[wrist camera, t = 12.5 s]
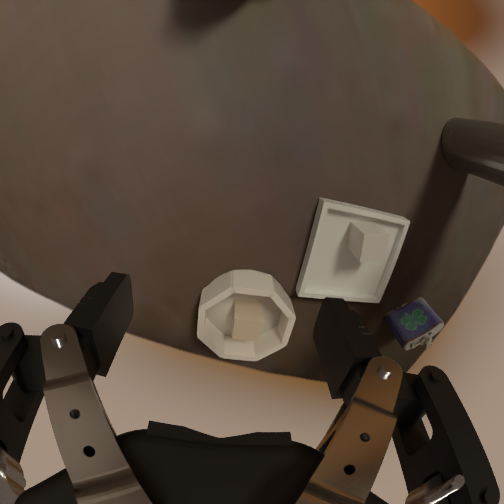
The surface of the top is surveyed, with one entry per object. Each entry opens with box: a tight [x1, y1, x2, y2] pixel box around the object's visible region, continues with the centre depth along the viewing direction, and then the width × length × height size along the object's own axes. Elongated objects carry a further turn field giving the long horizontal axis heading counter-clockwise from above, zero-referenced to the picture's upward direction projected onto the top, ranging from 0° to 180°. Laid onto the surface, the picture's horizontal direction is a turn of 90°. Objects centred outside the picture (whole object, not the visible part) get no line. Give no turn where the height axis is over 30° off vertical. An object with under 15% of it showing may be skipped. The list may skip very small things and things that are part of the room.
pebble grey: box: [347, 222, 390, 262], centre depth 37 cm, size 4×4×5 cm
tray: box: [296, 198, 410, 303], centre depth 40 cm, size 15×15×2 cm
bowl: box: [197, 269, 296, 361], centre depth 42 cm, size 14×14×5 cm
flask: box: [384, 296, 444, 350], centre depth 42 cm, size 9×3×11 cm, turn 116°
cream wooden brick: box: [232, 299, 263, 341], centre depth 41 cm, size 4×4×5 cm
